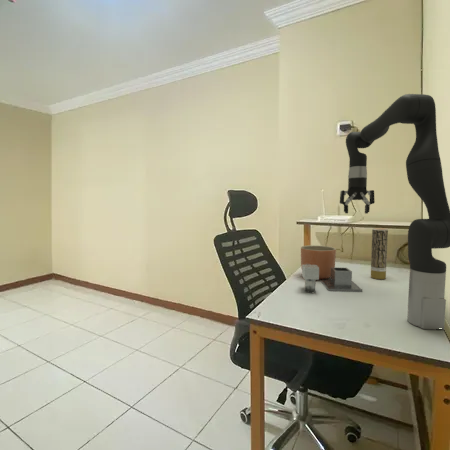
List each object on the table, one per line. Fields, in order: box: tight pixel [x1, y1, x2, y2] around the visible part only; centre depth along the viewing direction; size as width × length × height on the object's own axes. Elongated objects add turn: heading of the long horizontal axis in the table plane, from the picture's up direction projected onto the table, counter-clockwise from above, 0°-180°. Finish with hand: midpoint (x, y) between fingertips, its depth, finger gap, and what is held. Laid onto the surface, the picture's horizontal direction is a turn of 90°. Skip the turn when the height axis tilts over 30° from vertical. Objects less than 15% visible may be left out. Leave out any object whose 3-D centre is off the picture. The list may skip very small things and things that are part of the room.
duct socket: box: [320, 266, 363, 293], centre depth 129 cm, size 14×14×8 cm
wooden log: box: [370, 227, 389, 280], centre depth 143 cm, size 7×7×25 cm
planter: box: [300, 244, 337, 280], centre depth 145 cm, size 17×17×15 cm
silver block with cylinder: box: [301, 264, 320, 294], centre depth 124 cm, size 9×6×11 cm, turn 173°
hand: (356, 213), depth 129 cm, fingers open, 8 cm apart
